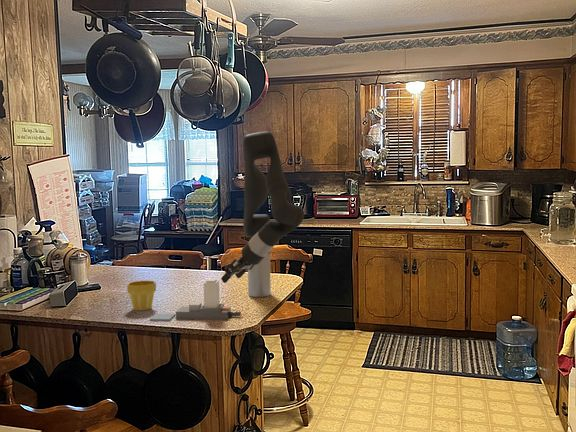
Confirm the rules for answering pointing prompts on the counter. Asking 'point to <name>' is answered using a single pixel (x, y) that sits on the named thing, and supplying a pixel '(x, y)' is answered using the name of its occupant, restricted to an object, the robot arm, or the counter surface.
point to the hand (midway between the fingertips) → (230, 278)
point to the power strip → (204, 312)
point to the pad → (162, 317)
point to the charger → (211, 293)
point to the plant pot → (141, 294)
